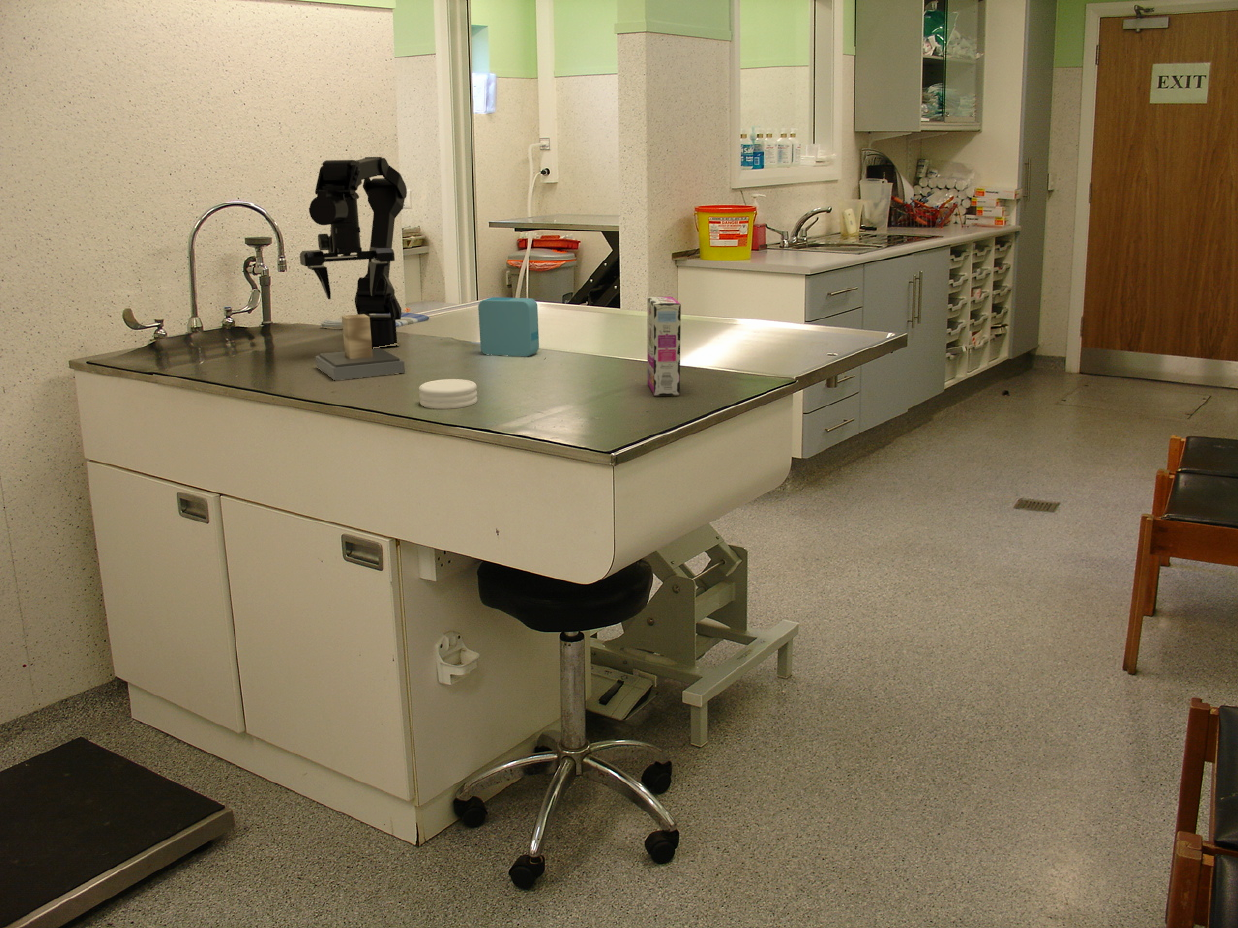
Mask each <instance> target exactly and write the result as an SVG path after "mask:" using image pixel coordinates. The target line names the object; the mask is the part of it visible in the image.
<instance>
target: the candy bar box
mask: <svg viewBox="0 0 1238 928" xmlns="http://www.w3.org/2000/svg"><path fill="white" fill-rule="evenodd" d="M681 306H682V304H681V302H679V301H678V300H676V298H674V297H673V296H648V297H647V347H646V348H647V386H648V388H649V389H650V391H651V393H652V395H653V396H654V397H676V396H677V397H678V396H681V327H682V326H681V323H682V322H681V317H682V316H681V315H682V314H681V313H682V311H681V310H682V307H681Z"/></svg>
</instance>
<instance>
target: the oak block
mask: <svg viewBox="0 0 1238 928" xmlns="http://www.w3.org/2000/svg"><path fill="white" fill-rule="evenodd" d="M341 318H342V326H343V330H342V335H343V336H342V337H343V347H344V351H345V356H347V357H348V358H350V359H354V358H364V357H373V354H372V341H371V329H370V317H369V316H367V315H364V314H361V315H358V314H352V315H349V314H348V315H341Z"/></svg>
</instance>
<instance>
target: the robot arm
mask: <svg viewBox="0 0 1238 928" xmlns="http://www.w3.org/2000/svg"><path fill="white" fill-rule="evenodd" d="M377 176H379V177H380V176H382V178H376V177H377ZM371 178H372V179H371ZM362 180H363V184H362ZM361 185H362V188H363V191H364V192H365V195H366V196H367V202H368V204H369V207H370V208H371V210H372V212H373V215H372V216H373V217H372V225H371V236H370V242H369V243H370V244H369V250H362V249H363V248H362V247H361V235H360V234H361V227H360V223H359V210H358V199H359V198H360V196H359V193H358V192H356V191H357V190H358V188H359V186H361ZM314 193H315V195H316V197H315V198H313V200H311V201H310V205H309V208H308V212H309V216H310V218H311V219H312V221H313V222H315V224H318V225H320V226H328V225H329V226H330V228H329V229H330V230H329V231H330V233H329V234H330V235H329V234H328V233H319V234H318V235H317V243H318V249H316V250H315V249H314V250H302V251H301V252H300V254H299V261H300V262H299V263H300V265H301V266H304V267H307V269H308V270H311V271H313V272H314V273H315V275H316V276H317V278H318V280H319V282H320V284H321V287H322V289H323V290H324V293H325V296H326V298H327V300H331V299H332V295H331V293H332V292H331V285H330V280H329V272H328V267H327V266H325V265H324V264H325V263H326V262H329V263H331V262H347V261H362V260H363V261H364V260H368V264H367V272H366V274H365V275H364V276H363V277H359V278H358V280H357V286H356V293H355V296H354V305H355V309H356V313H357V314H356V315H361V314H364V315H367V316H369V317H370V329H371V341H372V347H379V346H385V345H390V344H394V343H398V337H397V334H398V333H397V327H396V320H399V319H401V315H402V313H401V312H402V311H403V310H402V307H401V304H400V303H399V301H398V299H397V298H396V294H395V293H396V292H395V291H396V290H395V288H394V286H393V284H392V282H391V280H390V268H391V262H395V261H396V260H395V251H394V249H392V247H393V242H394V239H393V238H394V231H395V230H394V229H395V220H396V218H397V217H398V215H399V214H400V213H401V212H402V210H403V209H404V205H405V204H404V203H405V200H406V198H407V194H408V189H407V185H406V182H405V181H404V178H403V177H402V174H401V173H400V172H399V171H397V170H396V169H394V168H393V167H392V166H391V165H389V163H388V161H387V159H386V157H385V158H384V157H382V156H367V157H366V156H365V157H364V158H361V159H356V160H355V159H335V160H333V159H331V160H330V159H329V160H326V159H325V160H324V161H323V163H322V166H320V169H319V173H318V178H317V181H316V186H315V191H314ZM324 251H327V252H324ZM389 313H390V315H369V314H389Z"/></svg>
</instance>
